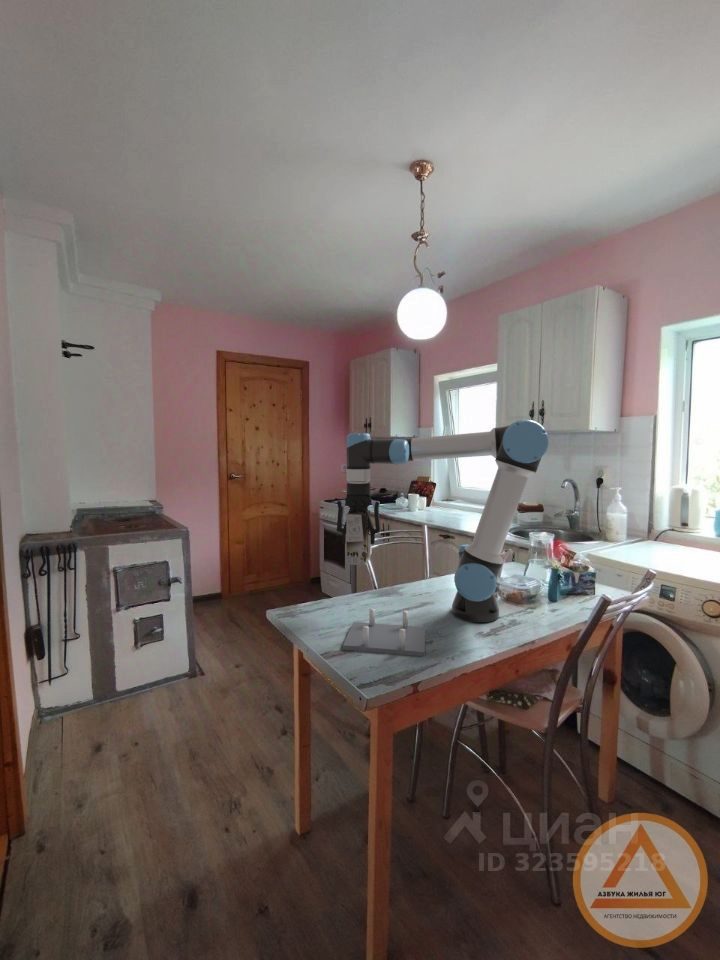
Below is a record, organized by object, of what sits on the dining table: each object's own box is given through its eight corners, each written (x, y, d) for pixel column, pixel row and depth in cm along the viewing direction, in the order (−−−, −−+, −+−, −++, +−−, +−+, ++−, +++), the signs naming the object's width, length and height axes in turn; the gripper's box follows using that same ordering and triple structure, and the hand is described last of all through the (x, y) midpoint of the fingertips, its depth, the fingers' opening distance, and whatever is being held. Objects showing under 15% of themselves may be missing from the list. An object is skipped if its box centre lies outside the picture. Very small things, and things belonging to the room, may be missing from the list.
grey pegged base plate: (425, 631, 133) (425, 611, 132) (424, 656, 117) (424, 633, 117) (353, 625, 136) (353, 606, 136) (343, 649, 121) (343, 627, 120)
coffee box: (366, 565, 137) (365, 514, 136) (345, 564, 138) (345, 513, 137) (371, 558, 146) (371, 509, 145) (352, 557, 147) (351, 509, 146)
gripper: (390, 481, 142) (390, 552, 144) (331, 480, 145) (331, 549, 147) (387, 483, 135) (387, 557, 137) (325, 482, 138) (326, 555, 140)
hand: (358, 553), depth 142 cm, fingers closed on coffee box, 6 cm apart
